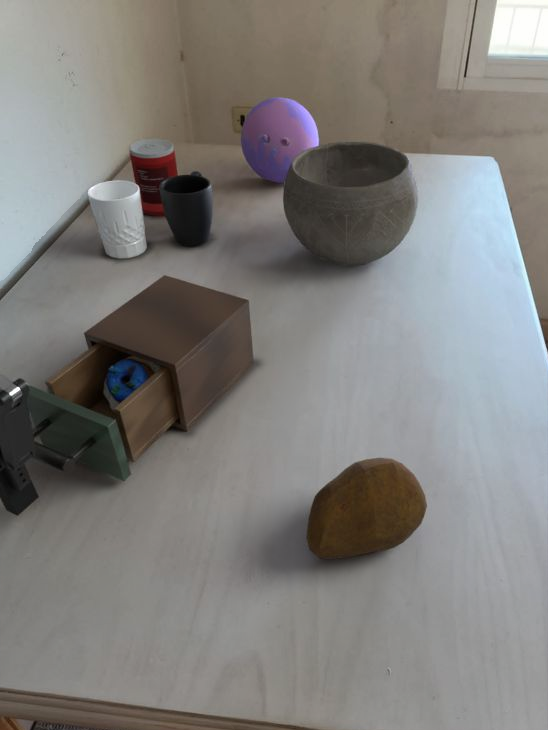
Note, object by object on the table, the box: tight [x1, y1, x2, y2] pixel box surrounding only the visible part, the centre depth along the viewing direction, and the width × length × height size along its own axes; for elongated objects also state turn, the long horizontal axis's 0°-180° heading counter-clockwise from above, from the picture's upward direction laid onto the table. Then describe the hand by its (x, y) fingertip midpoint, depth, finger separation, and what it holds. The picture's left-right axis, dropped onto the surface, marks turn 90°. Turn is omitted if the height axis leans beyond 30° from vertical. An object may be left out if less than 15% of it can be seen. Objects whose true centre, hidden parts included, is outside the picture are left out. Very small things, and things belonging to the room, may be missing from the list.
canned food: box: [128, 138, 179, 217], centre depth 113 cm, size 8×8×11 cm
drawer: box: [27, 343, 179, 482], centre depth 67 cm, size 18×11×8 cm, turn 153°
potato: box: [306, 457, 428, 560], centre depth 59 cm, size 8×12×9 cm
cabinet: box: [83, 274, 255, 432], centre depth 76 cm, size 15×13×10 cm
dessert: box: [103, 356, 162, 413], centre depth 70 cm, size 8×7×6 cm
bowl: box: [282, 141, 419, 266], centre depth 100 cm, size 21×21×15 cm
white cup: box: [86, 179, 148, 259], centre depth 101 cm, size 8×8×10 cm
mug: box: [159, 170, 214, 248], centre depth 105 cm, size 8×12×10 cm
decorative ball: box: [240, 97, 320, 184], centre depth 122 cm, size 15×15×15 cm
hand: (22, 503), depth 61 cm, fingers closed
